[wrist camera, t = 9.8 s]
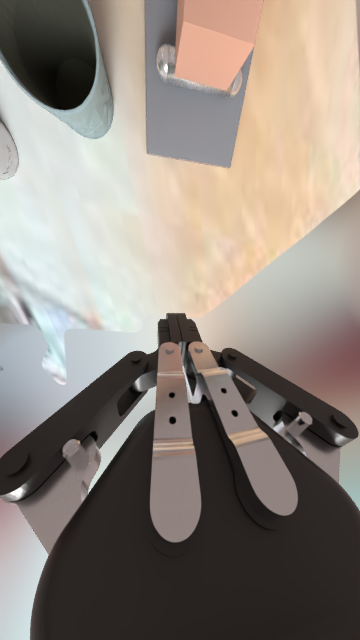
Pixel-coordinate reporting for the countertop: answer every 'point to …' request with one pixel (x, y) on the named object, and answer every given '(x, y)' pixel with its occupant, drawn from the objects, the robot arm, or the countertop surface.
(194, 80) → the terracotta block
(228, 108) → the grey piece
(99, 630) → the robot arm
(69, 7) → the grey pot
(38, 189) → the countertop surface
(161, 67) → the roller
